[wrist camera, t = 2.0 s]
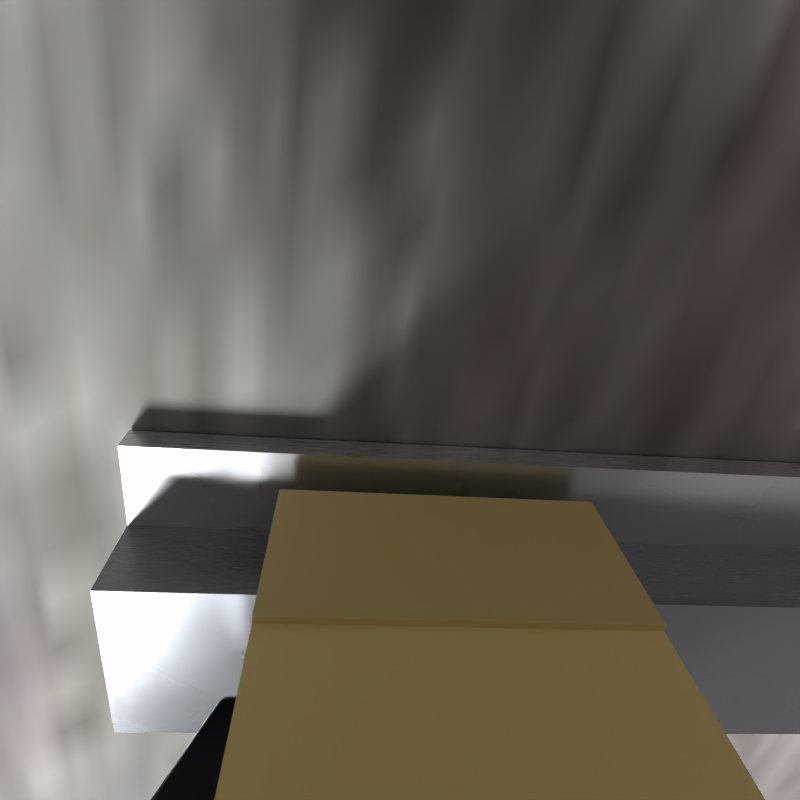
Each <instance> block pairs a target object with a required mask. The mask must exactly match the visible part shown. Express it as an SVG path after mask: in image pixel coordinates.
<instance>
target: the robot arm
mask: <svg viewBox="0 0 800 800" xmlns="http://www.w3.org/2000/svg"><path fill="white" fill-rule="evenodd" d="M235 701H236V696H227V697H224V698H222V699H221V700H220V701H219V702H218V703H217V705H216V706H215V708H214V709H213V711H212V712H211V713H210V715H209V716H208V718H207V719H206V721H205V722H204V724H203V725H202V726H201V728H200V729H199V731H198V732H197V734H196V735H195V737H194V738H193V739H192V741H191V742H190V744H189V745H188V747H187V748H186V750H185V751H184V752H183V754H182V755H181V757H180V758H179V760H178V761H177V763H176V764H175V765H174V767H173V768H172V770H171V771H170V773H169V774H168V776H167V777H166V778H165V780H164V781H163V783H162V784H161V786H160V787H159V789H158V790H157V791H156V793H155V794H154V796H153V797H152V799H151V800H214V799H215V795H216V790H217V785H218V781H219V776H220V771H221V766H222V762H223V757H224V752H225V748H226V743H227V738H228V734H229V729H230V724H231V719H232V715H233V710H234V705H235Z"/></svg>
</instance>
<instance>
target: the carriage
mask: <svg viewBox="0 0 800 800" xmlns="http://www.w3.org/2000/svg"><path fill="white" fill-rule="evenodd" d="M666 626H667V625H666V623H665V622H664V620H663V618H662V617H661V615H660V613H659V612H658V610H657V609H656V607H655V605H654V604H653V602H652V600H651V599H650V597H649V595H648V594H647V592H646V590H645V589H644V587H643V586H642V584H641V582H640V581H639V579H638V577H637V576H636V574H635V572H634V571H633V569H632V568H631V566H630V564H629V563H628V561H627V559H626V558H625V556H624V554H623V553H622V551H621V549H620V548H619V546H618V545H617V543H616V541H615V540H614V538H613V536H612V535H611V533H610V531H609V530H608V528H607V526H606V525H605V523H604V522H603V520H602V518H601V517H600V515H599V513H598V512H597V510H596V508H595V507H594V505H593V503H592V502H583V501H558V500H534V499H510V498H485V497H461V496H436V495H412V494H387V493H363V492H338V491H314V490H289V489H279V493H278V498H277V503H276V507H275V512H274V516H273V521H272V526H271V530H270V535H269V540H268V544H267V549H266V553H265V558H264V563H263V567H262V572H261V577H260V581H259V586H258V591H257V595H256V600H255V604H254V609H253V614H252V625H251V630H250V635H249V640H248V644H247V649H246V654H245V658H244V663H243V668H242V672H241V677H240V682H239V687H238V691H237V696H236V701H235V705H234V710H233V715H232V719H231V724H230V729H229V734H228V738H227V743H226V748H225V752H224V757H223V762H222V766H221V771H220V776H219V781H218V785H217V790H216V795H215V799H214V800H765V799H764V797H763V795H762V794H761V792H760V790H759V789H758V787H757V785H756V784H755V782H754V780H753V779H752V777H751V775H750V774H749V772H748V770H747V769H746V767H745V765H744V764H743V762H742V760H741V759H740V757H739V755H738V754H737V752H736V750H735V749H734V747H733V745H732V744H731V742H730V740H729V739H728V737H727V735H726V734H725V732H724V730H723V729H722V727H721V725H720V724H719V722H718V720H717V718H716V717H715V715H714V713H713V712H712V710H711V708H710V707H709V705H708V703H707V702H706V700H705V698H704V697H703V695H702V693H701V692H700V690H699V688H698V687H697V685H696V683H695V682H694V680H693V678H692V677H691V675H690V673H689V672H688V670H687V668H686V667H685V665H684V663H683V662H682V660H681V658H680V657H679V655H678V653H677V652H676V650H675V648H674V647H673V645H672V643H671V641H670V640H669V638H668V636H667V635H666V633H665V628H666Z"/></svg>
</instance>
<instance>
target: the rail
mask: <svg viewBox="0 0 800 800" xmlns="http://www.w3.org/2000/svg"><path fill="white" fill-rule="evenodd" d="M118 452H119V460H120V468H121V476H122V484H123V492H124V500H125V508H126V516H127V524H128V526H127V527H126V529H125V531H124V533H123V534H122V536H121V538H120V540H119V541H118V543H117V545H116V547H115V548H114V550H113V552H112V554H111V555H110V557H109V559H108V561H107V562H106V564H105V566H104V568H103V569H102V571H101V573H100V575H99V576H98V578H97V580H96V582H95V583H94V585H93V587H92V589H91V590H90V592H91V598H92V604H93V610H94V616H95V622H96V628H97V634H98V640H99V646H100V652H101V657H102V663H103V669H104V675H105V681H106V687H107V693H108V699H109V705H110V711H111V717H112V723H113V729H114V732H183V733H197V732H198V731H199V729H200V728H201V726H202V725H203V724H204V722H205V721H206V719H207V718H208V716H209V715H210V713H211V712H212V711H213V709H214V708H215V706H216V705H217V703H218V702H219V701H220V700H221V699H222V698H224V697H227V696H237V691H238V687H239V682H240V677H241V672H242V668H243V663H244V658H245V654H246V649H247V644H248V640H249V635H250V630H251V625H252V614H253V609H254V604H255V600H256V595H257V591H258V586H259V581H260V577H261V572H262V567H263V563H264V558H265V553H266V549H267V544H268V540H269V535H270V530H271V526H272V521H273V516H274V512H275V507H276V503H277V498H278V493H279V489H289V490H314V491H338V492H363V493H387V494H412V495H436V496H461V497H485V498H510V499H534V500H558V501H583V502H592V503H593V505H594V507H595V508H596V510H597V512H598V513H599V515H600V517H601V518H602V520H603V522H604V523H605V525H606V526H607V528H608V530H609V531H610V533H611V535H612V536H613V538H614V540H615V541H616V543H617V545H618V546H619V548H620V549H621V551H622V553H623V554H624V556H625V558H626V559H627V561H628V563H629V564H630V566H631V568H632V569H633V571H634V572H635V574H636V576H637V577H638V579H639V581H640V582H641V584H642V586H643V587H644V589H645V590H646V592H647V594H648V595H649V597H650V599H651V600H652V602H653V604H654V605H655V607H656V609H657V610H658V612H659V613H660V615H661V617H662V618H663V620H664V622H665V623H666V625H667V626H666V628H665V633H666V635H667V636H668V638H669V640H670V641H671V643H672V645H673V647H674V648H675V650H676V652H677V653H678V655H679V657H680V658H681V660H682V662H683V663H684V665H685V667H686V668H687V670H688V672H689V673H690V675H691V677H692V678H693V680H694V682H695V683H696V685H697V687H698V688H699V690H700V692H701V693H702V695H703V697H704V698H705V700H706V702H707V703H708V705H709V707H710V708H711V710H712V712H713V713H714V715H715V717H716V718H717V720H718V722H719V724H720V725H721V727H722V729H723V730H724V732H725V734H800V463H784V462H763V461H743V460H722V459H702V458H682V457H661V456H641V455H620V454H600V453H580V452H559V451H539V450H518V449H498V448H478V447H457V446H437V445H417V444H396V443H376V442H355V441H335V440H315V439H294V438H274V437H253V436H233V435H213V434H192V433H172V432H151V431H131V430H129V431H128V433H127V434H126V435H125V437H124V438H123V439H122V441H121V442H120V443H119V445H118Z"/></svg>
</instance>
